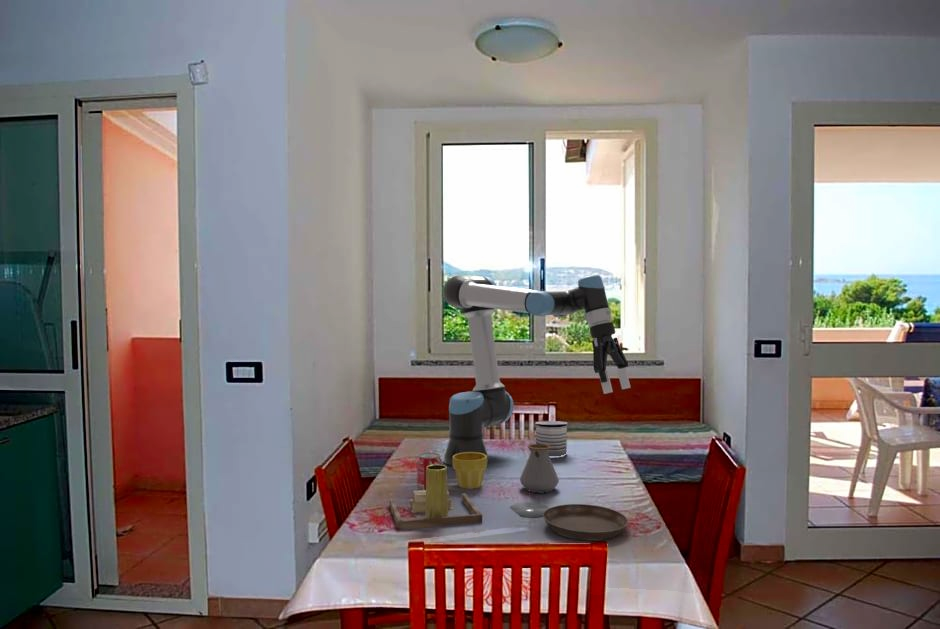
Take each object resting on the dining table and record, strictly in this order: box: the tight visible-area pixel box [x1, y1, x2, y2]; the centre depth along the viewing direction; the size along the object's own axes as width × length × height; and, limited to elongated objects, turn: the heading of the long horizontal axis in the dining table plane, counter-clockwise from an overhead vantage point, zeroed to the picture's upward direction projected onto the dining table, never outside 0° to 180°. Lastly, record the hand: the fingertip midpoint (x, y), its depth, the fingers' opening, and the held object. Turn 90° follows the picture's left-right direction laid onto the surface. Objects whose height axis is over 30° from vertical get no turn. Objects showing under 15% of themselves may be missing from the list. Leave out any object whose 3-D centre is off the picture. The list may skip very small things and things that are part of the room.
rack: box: [389, 493, 483, 530], centre depth 174 cm, size 18×21×3 cm
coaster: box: [509, 501, 550, 518], centre depth 180 cm, size 11×11×1 cm
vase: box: [424, 464, 449, 518], centre depth 170 cm, size 6×6×14 cm
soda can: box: [416, 452, 443, 491], centre depth 191 cm, size 7×7×12 cm
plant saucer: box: [542, 503, 629, 541], centre depth 166 cm, size 21×21×3 cm
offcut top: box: [413, 489, 450, 503], centre depth 178 cm, size 4×9×2 cm, turn 100°
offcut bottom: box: [408, 505, 454, 514], centre depth 178 cm, size 5×11×2 cm, turn 105°
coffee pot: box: [519, 443, 560, 494], centre depth 194 cm, size 21×12×15 cm, turn 171°
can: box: [535, 420, 568, 456], centre depth 240 cm, size 11×11×12 cm
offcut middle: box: [409, 498, 452, 513], centre depth 178 cm, size 4×10×2 cm, turn 111°
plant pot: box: [452, 452, 488, 489], centre depth 199 cm, size 10×10×10 cm
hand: (617, 390), depth 207 cm, fingers open, 13 cm apart
